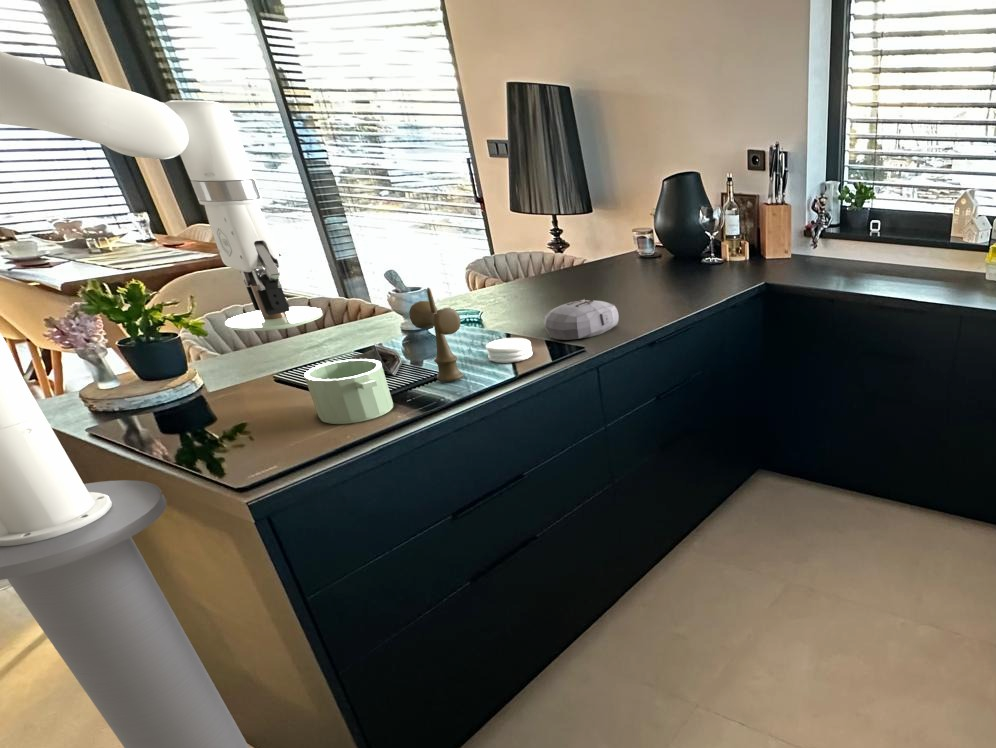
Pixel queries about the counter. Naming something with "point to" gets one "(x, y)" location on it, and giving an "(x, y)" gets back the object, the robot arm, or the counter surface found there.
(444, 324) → the kendama
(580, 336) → the grey rounded bag
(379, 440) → the counter surface
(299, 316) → the lid
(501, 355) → the coaster
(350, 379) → the pot
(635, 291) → the counter surface
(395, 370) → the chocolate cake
